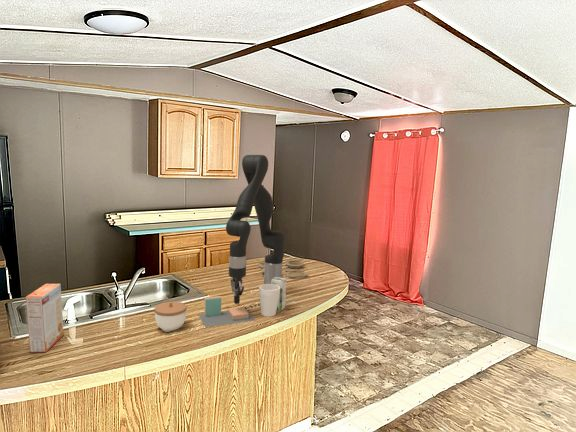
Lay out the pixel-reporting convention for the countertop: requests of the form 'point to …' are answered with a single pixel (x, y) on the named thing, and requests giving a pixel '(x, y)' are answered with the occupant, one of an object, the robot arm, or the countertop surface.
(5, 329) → the countertop surface
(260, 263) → the tableware set
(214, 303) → the tile
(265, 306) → the foam cup
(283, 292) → the syrup box
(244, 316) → the tile
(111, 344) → the countertop surface
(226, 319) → the mat
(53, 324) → the cracker box
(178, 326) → the lidded bowl
